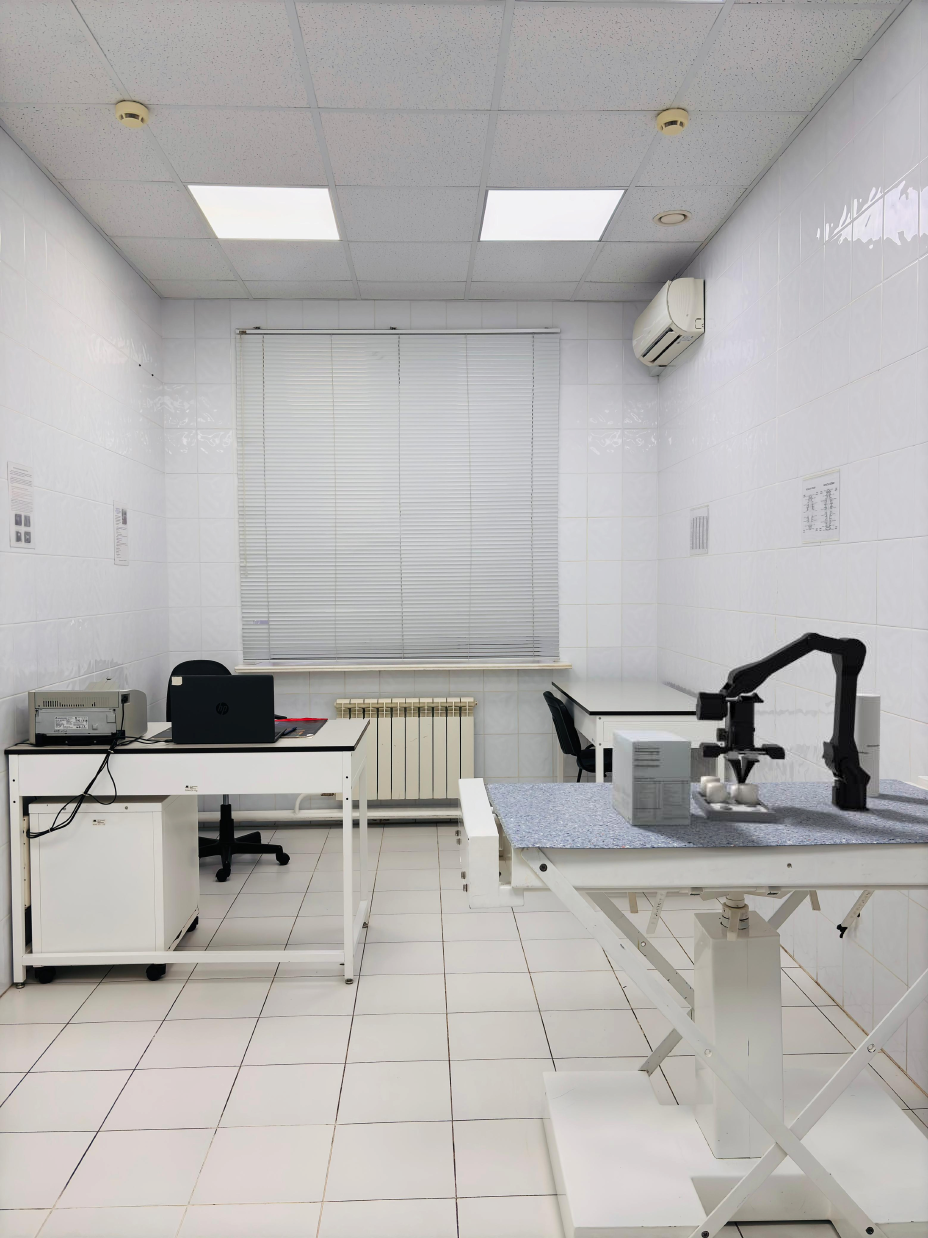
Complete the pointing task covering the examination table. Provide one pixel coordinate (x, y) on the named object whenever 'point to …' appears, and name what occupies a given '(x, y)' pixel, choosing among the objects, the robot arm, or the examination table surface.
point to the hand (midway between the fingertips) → (740, 787)
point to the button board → (733, 809)
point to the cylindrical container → (868, 738)
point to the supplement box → (651, 777)
